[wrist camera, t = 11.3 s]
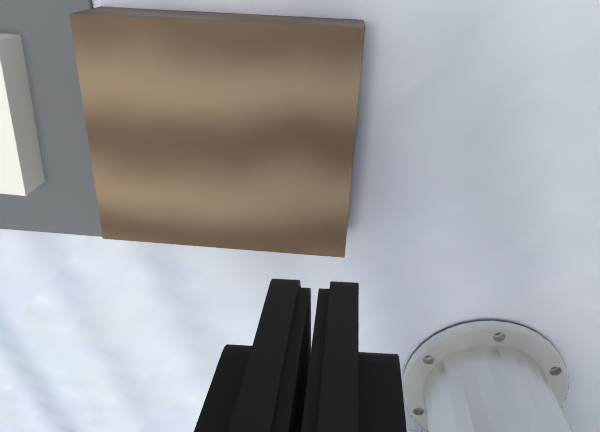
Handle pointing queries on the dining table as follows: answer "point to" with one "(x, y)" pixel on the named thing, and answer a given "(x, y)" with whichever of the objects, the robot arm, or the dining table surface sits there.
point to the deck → (221, 126)
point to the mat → (53, 122)
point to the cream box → (17, 123)
